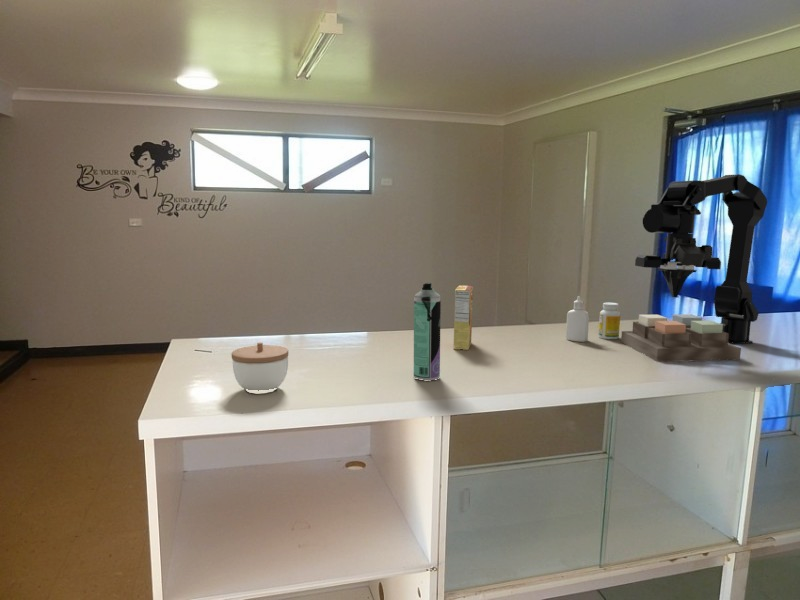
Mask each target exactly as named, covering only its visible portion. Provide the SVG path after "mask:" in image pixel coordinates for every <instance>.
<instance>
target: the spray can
mask: <svg viewBox="0 0 800 600" xmlns="http://www.w3.org/2000/svg"><path fill="white" fill-rule="evenodd" d="M432 286H433V285H432V283H431V282H426V283H422V287H421V289H420V291H418V292H417V293H416V294H414V298H413V378H414V377H415V378H418V379H423V380H435V379H438V378H439V377H440V376H441V374H440V373H441V314H442V313H441V312H442V311H441V306H442V305H441V294H439V293H438V292H436V291H435V289H434V288H433V287H432ZM440 378H441V377H440ZM440 378H439V379H440Z"/></svg>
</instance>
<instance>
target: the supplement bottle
mask: <svg viewBox="0 0 800 600" xmlns="http://www.w3.org/2000/svg"><path fill="white" fill-rule="evenodd" d="M598 321H599V324H598V338H601V339H604V340H617V339H619V337H620V325H621V312H620V311H619V303H618V302H610V301H609V302H608V301H607V302H603V303H602V310H601V311H599V320H598Z"/></svg>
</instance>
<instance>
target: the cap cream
mask: <svg viewBox="0 0 800 600" xmlns="http://www.w3.org/2000/svg"><path fill="white" fill-rule="evenodd" d="M638 321H639V323H640V324H642V325H645V326H655V321H668V317H665V316H663V315H660V314H638Z"/></svg>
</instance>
